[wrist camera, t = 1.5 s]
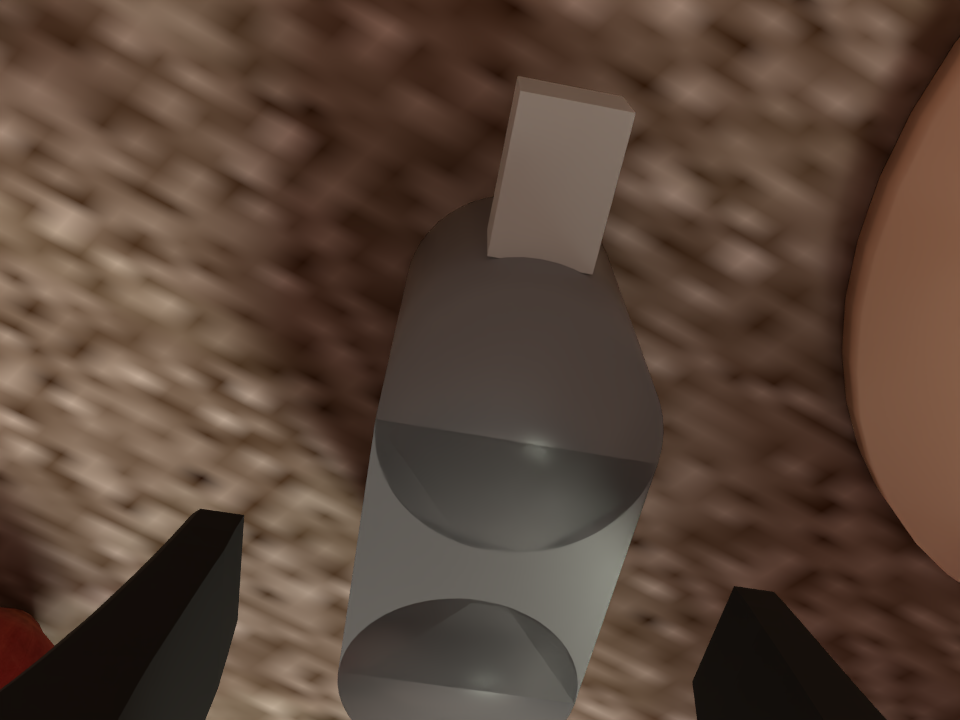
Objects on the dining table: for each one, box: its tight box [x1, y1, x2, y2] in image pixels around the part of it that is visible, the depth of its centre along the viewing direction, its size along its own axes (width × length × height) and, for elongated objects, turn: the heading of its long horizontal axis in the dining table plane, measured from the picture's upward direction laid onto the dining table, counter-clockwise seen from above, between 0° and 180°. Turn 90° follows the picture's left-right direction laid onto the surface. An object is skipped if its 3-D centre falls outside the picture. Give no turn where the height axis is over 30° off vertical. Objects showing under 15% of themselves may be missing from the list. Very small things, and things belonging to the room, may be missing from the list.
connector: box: [338, 76, 663, 720], centre depth 14 cm, size 11×4×5 cm, turn 170°
